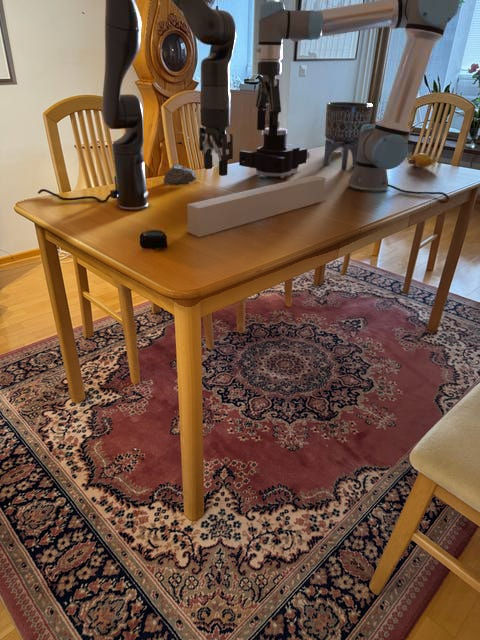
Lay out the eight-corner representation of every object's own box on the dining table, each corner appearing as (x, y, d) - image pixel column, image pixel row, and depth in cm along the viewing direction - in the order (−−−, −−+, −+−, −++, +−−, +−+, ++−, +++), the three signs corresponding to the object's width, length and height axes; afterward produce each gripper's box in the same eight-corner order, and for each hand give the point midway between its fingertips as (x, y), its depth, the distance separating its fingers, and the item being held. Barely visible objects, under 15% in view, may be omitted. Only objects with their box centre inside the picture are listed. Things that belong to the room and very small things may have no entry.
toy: (409, 160, 208) (403, 153, 221) (411, 174, 211) (405, 166, 224) (434, 152, 205) (427, 146, 218) (436, 166, 208) (429, 159, 221)
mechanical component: (240, 120, 182) (283, 115, 202) (239, 174, 192) (280, 164, 212) (283, 126, 170) (325, 120, 190) (280, 183, 180) (320, 171, 200)
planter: (313, 167, 208) (319, 103, 195) (331, 160, 222) (338, 101, 209) (353, 173, 199) (362, 107, 185) (369, 166, 213) (379, 104, 199)
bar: (311, 198, 163) (313, 175, 159) (322, 201, 160) (325, 177, 156) (188, 232, 129) (186, 204, 125) (199, 237, 126) (198, 208, 122)
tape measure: (140, 252, 115) (139, 238, 113) (141, 242, 120) (140, 229, 119) (167, 251, 116) (166, 237, 114) (167, 241, 121) (166, 228, 120)
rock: (189, 177, 184) (188, 161, 181) (201, 182, 179) (201, 165, 176) (161, 182, 177) (159, 165, 173) (173, 187, 171) (172, 170, 168)
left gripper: (189, 103, 117) (191, 168, 125) (215, 109, 106) (215, 179, 115) (215, 102, 120) (215, 165, 129) (242, 108, 110) (241, 176, 118)
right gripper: (247, 60, 153) (246, 128, 164) (270, 61, 132) (267, 138, 143) (269, 60, 155) (266, 127, 166) (294, 61, 134) (289, 138, 145)
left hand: (215, 172), depth 122 cm, fingers open, 8 cm apart
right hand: (266, 132), depth 154 cm, fingers open, 13 cm apart
